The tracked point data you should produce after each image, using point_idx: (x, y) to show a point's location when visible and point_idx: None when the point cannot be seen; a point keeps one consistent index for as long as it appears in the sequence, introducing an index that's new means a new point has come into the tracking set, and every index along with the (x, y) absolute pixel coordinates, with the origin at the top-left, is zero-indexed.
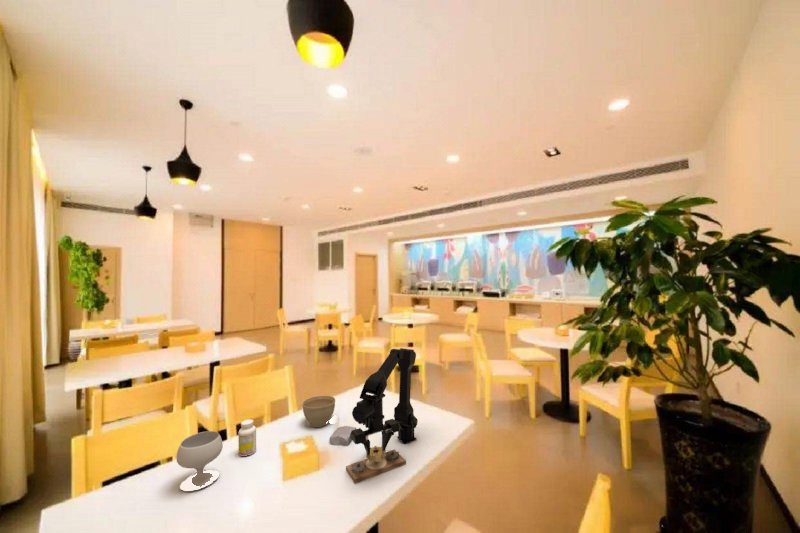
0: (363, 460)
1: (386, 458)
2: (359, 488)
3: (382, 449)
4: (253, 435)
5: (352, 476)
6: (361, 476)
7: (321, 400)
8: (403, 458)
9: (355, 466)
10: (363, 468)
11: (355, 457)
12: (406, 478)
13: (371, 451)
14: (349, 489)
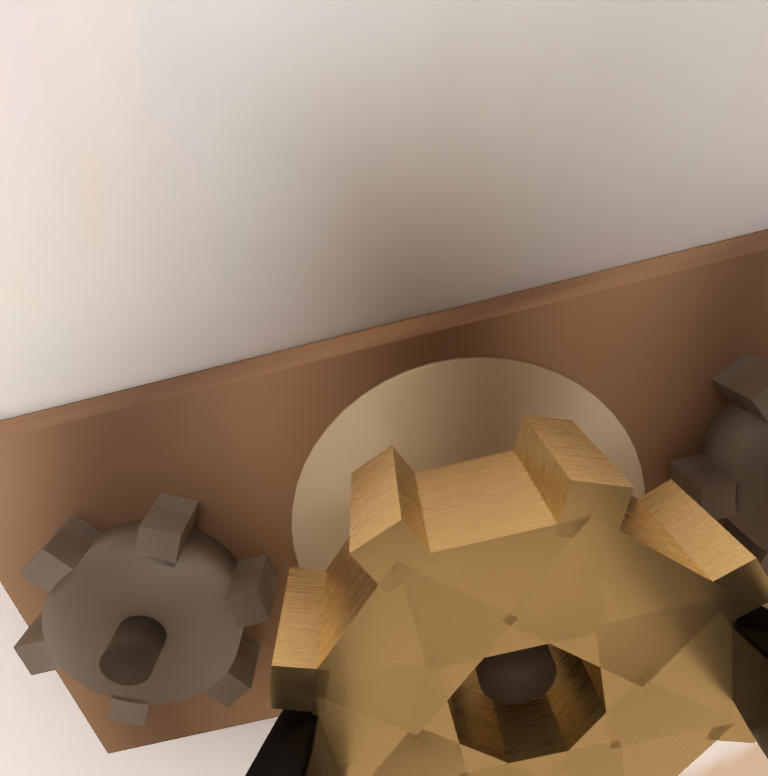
0: (261, 385)
1: (674, 470)
2: (185, 764)
3: (706, 689)
4: None
5: (73, 686)
6: (199, 726)
7: None
8: None
9: (85, 630)
10: (223, 701)
11: (128, 72)
12: (715, 746)
13: (410, 699)
14: (71, 755)
